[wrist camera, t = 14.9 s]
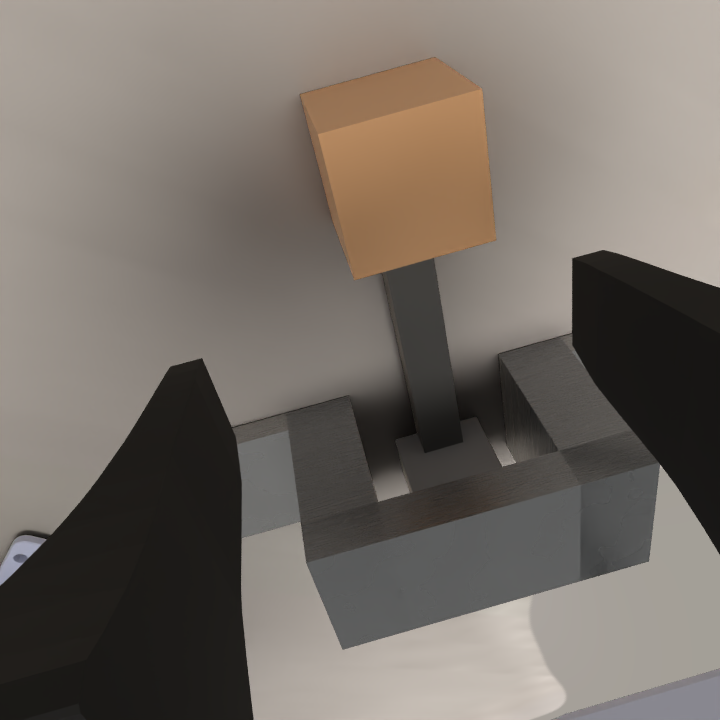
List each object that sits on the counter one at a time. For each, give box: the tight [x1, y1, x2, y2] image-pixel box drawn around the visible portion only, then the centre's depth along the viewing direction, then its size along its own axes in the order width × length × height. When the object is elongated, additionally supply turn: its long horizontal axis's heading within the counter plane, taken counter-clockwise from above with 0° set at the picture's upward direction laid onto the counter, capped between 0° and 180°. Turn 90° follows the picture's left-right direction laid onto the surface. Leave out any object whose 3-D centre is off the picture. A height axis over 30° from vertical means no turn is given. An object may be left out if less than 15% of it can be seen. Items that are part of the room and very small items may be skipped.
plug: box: [300, 57, 502, 493], centre depth 21 cm, size 16×4×4 cm, turn 12°
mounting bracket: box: [232, 334, 660, 649], centre depth 23 cm, size 5×18×7 cm, turn 102°
